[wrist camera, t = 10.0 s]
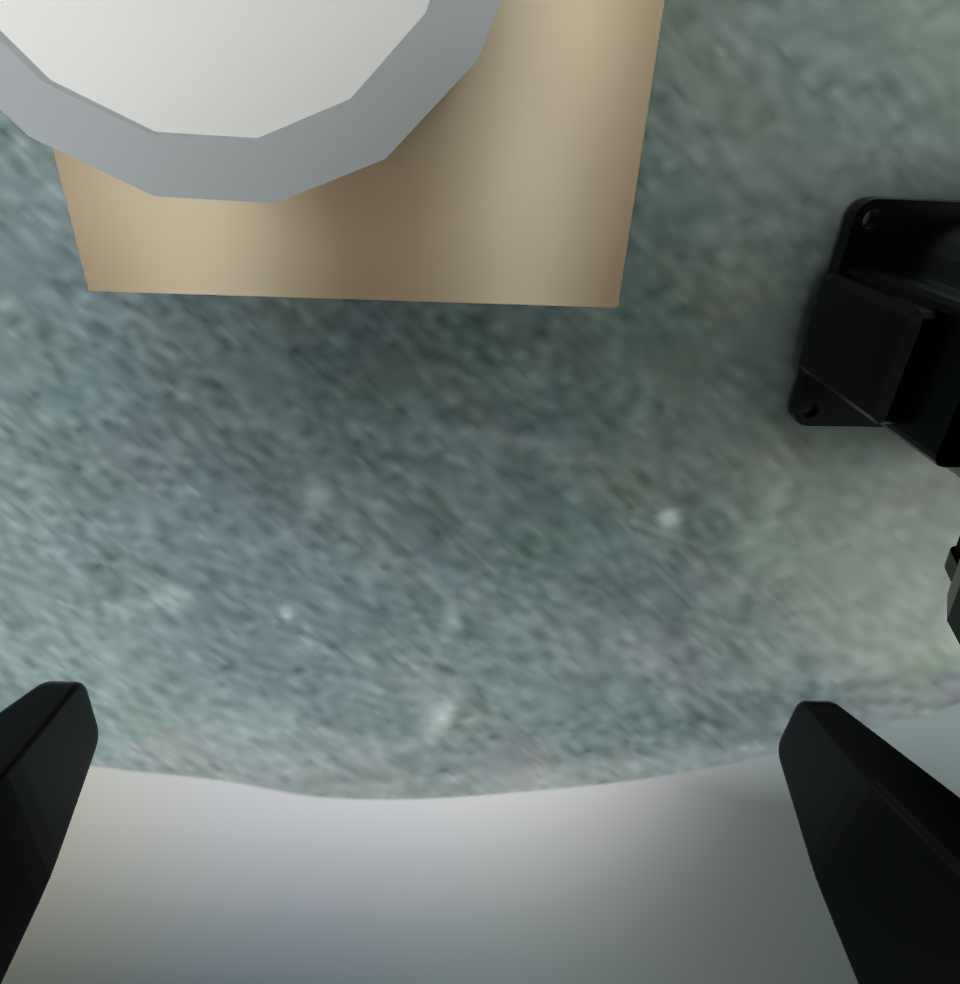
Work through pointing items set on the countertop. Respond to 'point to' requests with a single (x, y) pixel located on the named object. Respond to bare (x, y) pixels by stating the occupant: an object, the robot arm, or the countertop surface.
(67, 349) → the countertop surface
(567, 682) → the countertop surface
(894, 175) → the countertop surface
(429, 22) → the shot glass
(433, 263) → the birch block
